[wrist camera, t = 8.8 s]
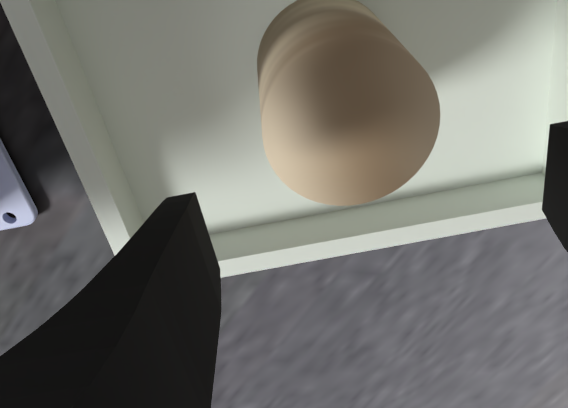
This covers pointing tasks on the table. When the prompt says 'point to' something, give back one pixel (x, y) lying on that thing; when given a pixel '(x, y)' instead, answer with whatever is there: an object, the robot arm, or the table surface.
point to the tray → (247, 119)
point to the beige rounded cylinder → (342, 103)
